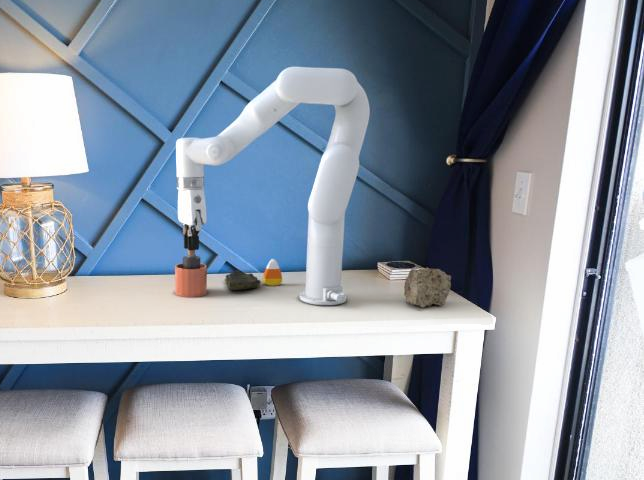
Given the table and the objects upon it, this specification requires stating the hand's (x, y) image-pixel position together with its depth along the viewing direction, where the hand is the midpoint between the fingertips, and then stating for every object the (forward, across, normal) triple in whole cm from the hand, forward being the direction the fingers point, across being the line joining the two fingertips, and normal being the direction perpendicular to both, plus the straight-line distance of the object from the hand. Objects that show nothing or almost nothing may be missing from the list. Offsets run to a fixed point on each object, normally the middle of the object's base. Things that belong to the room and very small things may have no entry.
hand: (191, 248), depth 180 cm
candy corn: (+13, -2, -26) cm, 29 cm away
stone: (+13, +1, -17) cm, 21 cm away
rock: (+14, -38, -53) cm, 66 cm away
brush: (+8, 0, 0) cm, 8 cm away
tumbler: (+13, 0, 0) cm, 13 cm away
